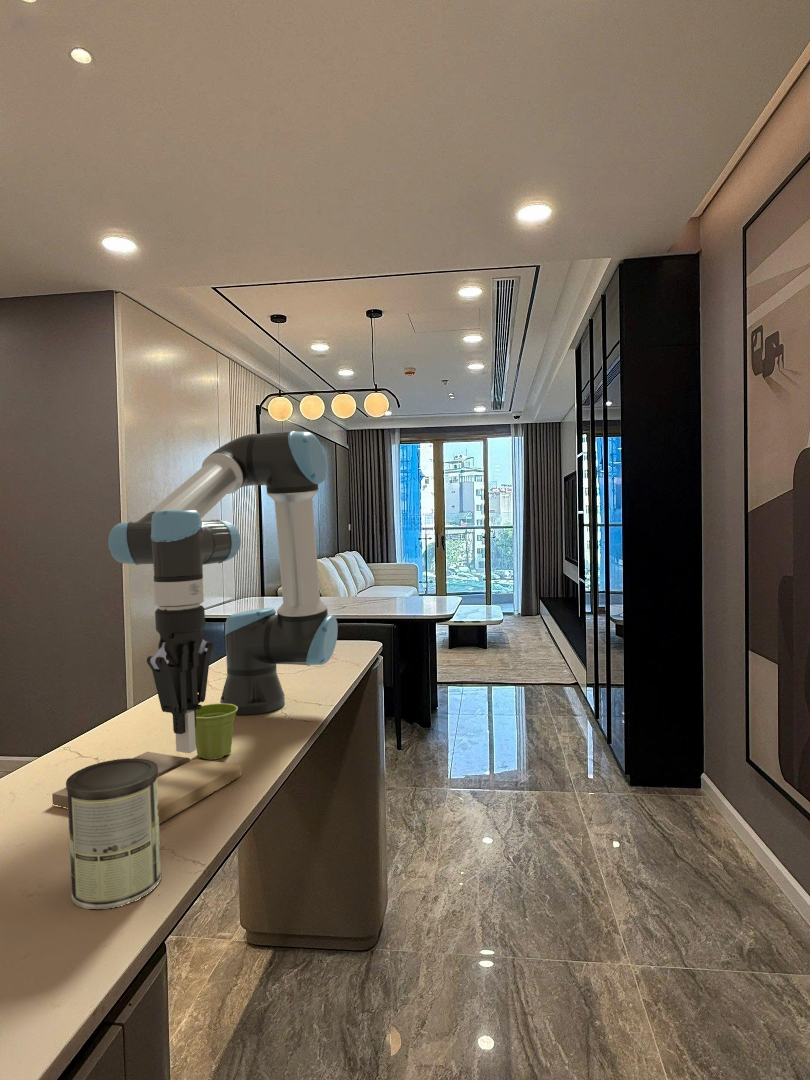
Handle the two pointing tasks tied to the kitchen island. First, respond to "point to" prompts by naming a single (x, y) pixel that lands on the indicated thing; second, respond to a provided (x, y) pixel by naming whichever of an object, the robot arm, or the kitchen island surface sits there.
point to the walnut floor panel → (162, 760)
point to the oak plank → (192, 784)
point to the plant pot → (214, 730)
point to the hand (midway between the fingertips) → (186, 750)
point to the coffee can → (113, 832)
